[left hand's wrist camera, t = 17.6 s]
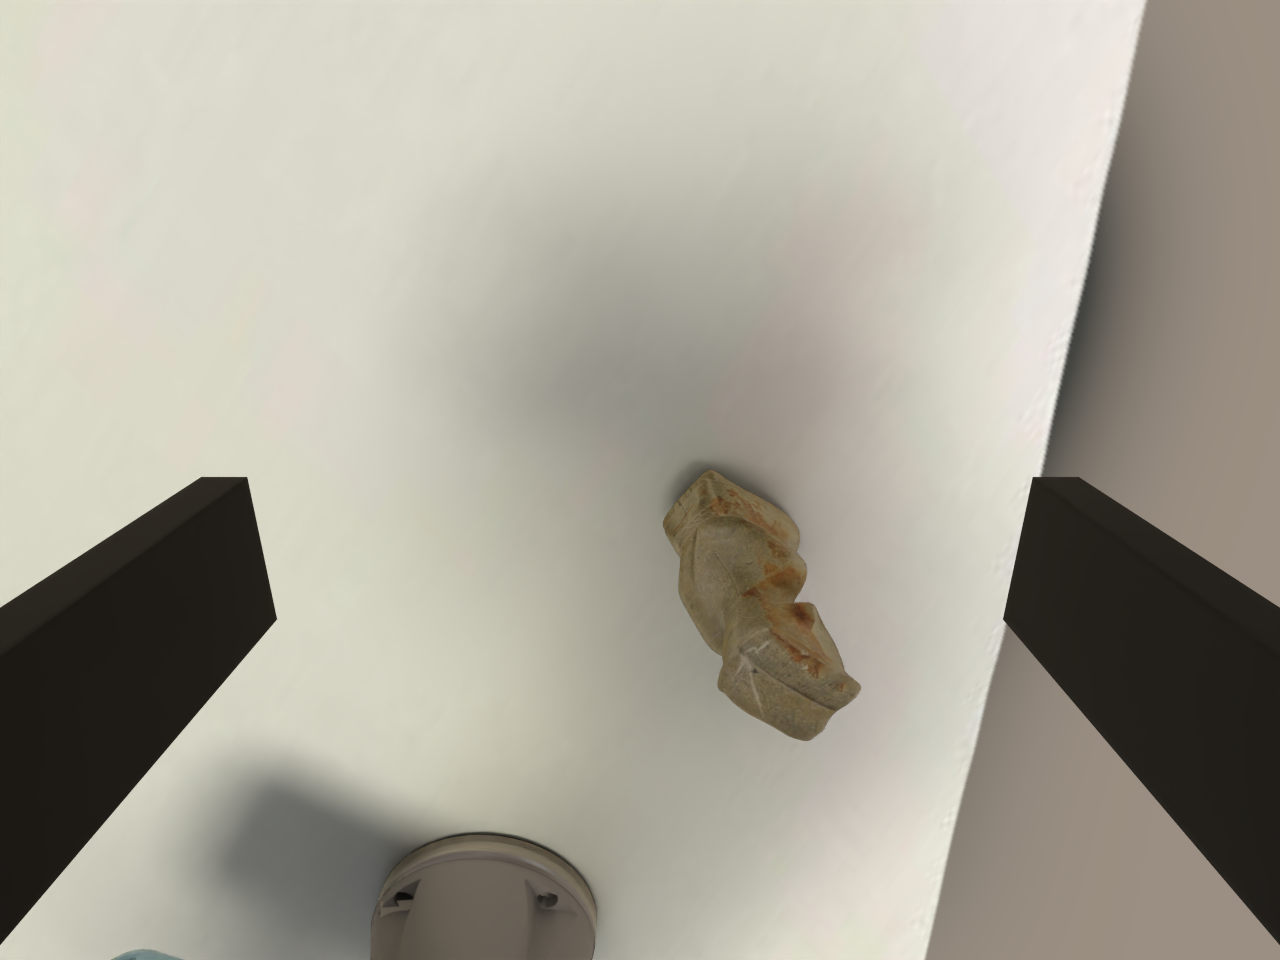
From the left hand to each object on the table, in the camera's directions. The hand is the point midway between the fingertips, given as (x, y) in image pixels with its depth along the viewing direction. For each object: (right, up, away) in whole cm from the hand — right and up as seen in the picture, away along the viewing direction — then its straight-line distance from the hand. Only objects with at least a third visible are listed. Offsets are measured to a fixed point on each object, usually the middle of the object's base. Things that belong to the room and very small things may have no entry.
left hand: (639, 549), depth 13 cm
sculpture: (+5, -1, +28) cm, 29 cm away
